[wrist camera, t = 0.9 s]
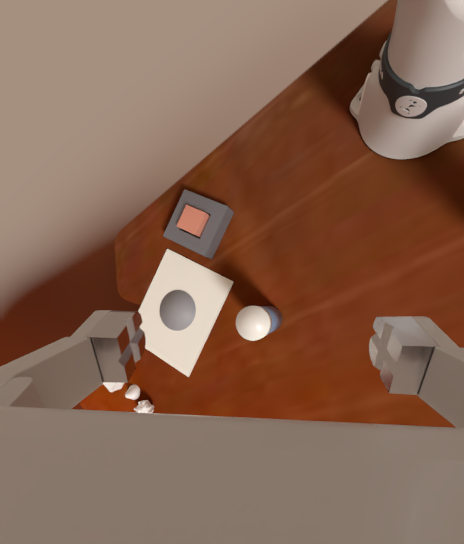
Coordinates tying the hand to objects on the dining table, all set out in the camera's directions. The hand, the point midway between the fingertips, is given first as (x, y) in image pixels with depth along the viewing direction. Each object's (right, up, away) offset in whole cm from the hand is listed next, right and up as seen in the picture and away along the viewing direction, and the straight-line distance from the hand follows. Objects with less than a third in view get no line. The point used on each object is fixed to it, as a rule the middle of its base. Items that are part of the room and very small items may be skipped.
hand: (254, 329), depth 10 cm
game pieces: (-20, -22, +47) cm, 56 cm away
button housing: (-7, +11, +46) cm, 48 cm away
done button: (-7, +11, +44) cm, 46 cm away
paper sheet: (-11, -6, +46) cm, 47 cm away
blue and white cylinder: (+6, -6, +40) cm, 41 cm away
